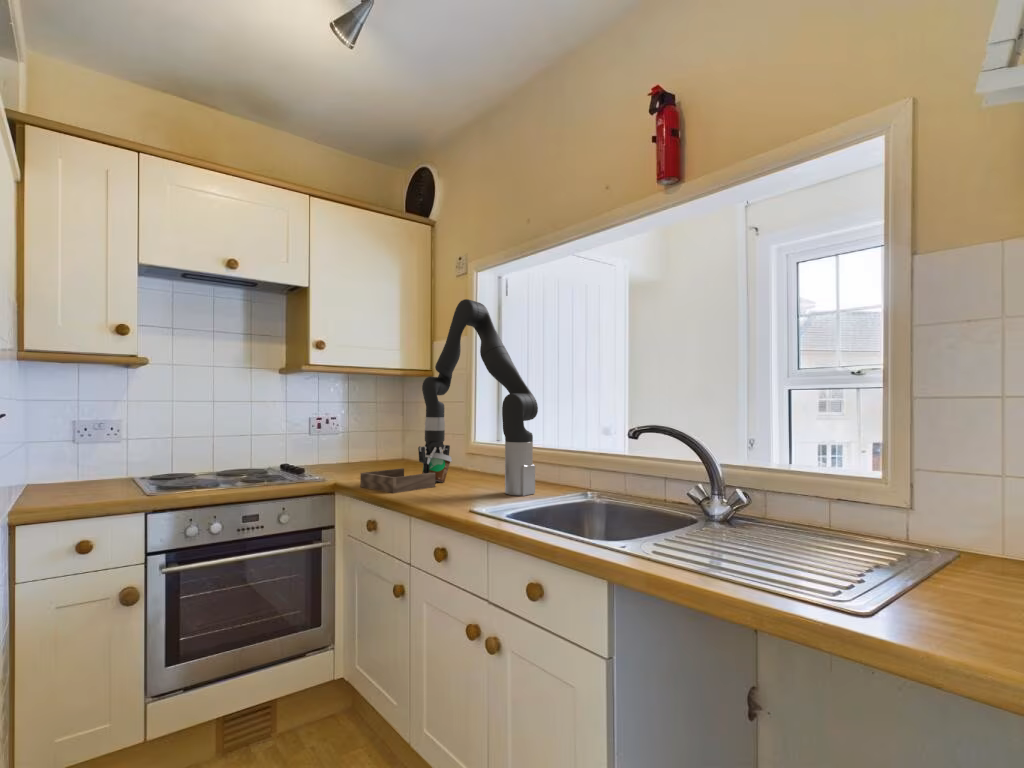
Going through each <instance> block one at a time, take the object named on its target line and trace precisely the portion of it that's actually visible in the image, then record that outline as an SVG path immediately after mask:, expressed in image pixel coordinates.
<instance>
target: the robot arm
mask: <svg viewBox="0 0 1024 768" xmlns="http://www.w3.org/2000/svg"><path fill="white" fill-rule="evenodd" d="M453 313H454V314H453V316H452V319H451V323H450V327H449V330H448V334H447V337H446V340H445V344H444V346H443V347H442V351H441V353H440V355H439V357H438V359H437V362H436V363H435V367H434V368H435V370H436V372H437V373H438V376H428V377H426V378H425V379H424V380H423V382H422V385H421V389H422V390H421V391H422V395H423V396H422V397H423V400H424V404H425V421H424V442H425V444H424V446H418V448H417V449H418V450H417V451H418V462H419V463H422V464H424V470H423V469H422V472H423V471H424V473H429V467H430V464H429V463H430V460H431V459H432V457H433V455H434V453H440V454H445V455H448V456H450V449H451V445H449V444H444V442H445V439H446V438H445V435H446V433H445V432H446V431H445V430H446V429H445V428H446V423H445V422H446V421H445V403H443V402H441V401H440V400H439V398H438V397H439V396H444V395H445V394H446V393H447V392H449V390H450V387H451V383H452V378H453V373H454V370H455V368H456V366H457V365H458V362H459V359H460V358H461V350H462V349H461V346H462V345H461V342H462V341H461V338H462V335H463V332H464V330H465V328H466V327H467V326H469V327H472V328H473V329H474V330H475V331H476V333H477V335H478V336H479V340H480V346H479V347H480V349H479V351H480V352H479V353H480V358H481V360H482V362H483V364H484V366H485V368H486V370H487V372H488V373H489V374H490V375H491V376H492V377H493V378H494V379H495V380H496V381H497V382H498V383H500V384H501V385H502V386H503V387H504V389H506V390H507V392H508V394H507V395H506V396H505V397H504V399H503V401H502V407H501V417H502V419H501V420H502V433H503V435H504V440H505V441H504V494H506V495H508V496H509V495H510V496H524V497H525V496H529V495H530V496H531V495H533V494H536V465H535V464H534V463H533V461H534V460H533V459H534V458H533V457H534V455H533V453H534V452H533V449H534V448H533V447H534V445H533V444H534V442H533V441H534V440H533V439H534V437H533V436H534V435H533V433H532V432H531V431H529V430H527V429H526V427H525V422H526V421H527V422H528V421H531V420H534V419H535V418H536V417H537V415H538V412H539V406H538V402H537V399H536V397H535V396H534V395H533V393H532V391H531V390H530V389H529V387H528V385H527V384H526V382H525V381H524V380H523V377H522V375H520V373H519V371H518V369H517V367H516V365H515V363H514V362H513V360H512V358H511V356H510V354H509V352H508V351H507V350H508V349H506V347H505V345H504V344H503V341H502V340H501V337H500V335H499V334H498V332H497V330H496V328H495V326H494V323H493V321H492V318H491V316H490V313H489V311H488V308H487V307H486V306H485V305H484V304H483V303H481V302H478V301H475V300H471V299H468V298H466V299H462V300H460V301H459V302H458V304H457V306H456V308H455V310H454V312H453ZM427 454H428V455H429V456H428V455H427Z"/></svg>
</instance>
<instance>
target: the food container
mask: <svg viewBox="0 0 1024 768" xmlns="http://www.w3.org/2000/svg"><path fill="white" fill-rule="evenodd" d="M427 455H428V454H427ZM428 456H429V455H428ZM452 459H453V458H452V456H450V455H449V456H448V455H445V454H440V453H434V455H433V457H432V459H431V460H430V463H429V464H430V467H429V473H435V483H445V481H446V478H447V475H448V471H449V468H450V465H451V463H452ZM422 464H423V463H422ZM423 470H424V464H423V465H422V471H421V472H422V473H421V474H425V473H424V471H423Z"/></svg>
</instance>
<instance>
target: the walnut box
mask: <svg viewBox="0 0 1024 768" xmlns="http://www.w3.org/2000/svg"><path fill="white" fill-rule="evenodd" d="M359 483H360V488H364V489H368V488H369V489H370V490H374V489H375V490H374V491H379V490H380V492H384V491H385V492H386V493H391V494H396V493H404V492H409V491H417V490H424V489H429V488H436V482H435V473H425V474H422V473H418V474H411V475H405V468H403V467H402V468H394V469H393V468H392V469H383V470H382V469H381V470H376V471H366V472H364V471H363V472H360V482H359ZM369 489H368V490H369ZM385 492H384V493H385Z"/></svg>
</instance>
